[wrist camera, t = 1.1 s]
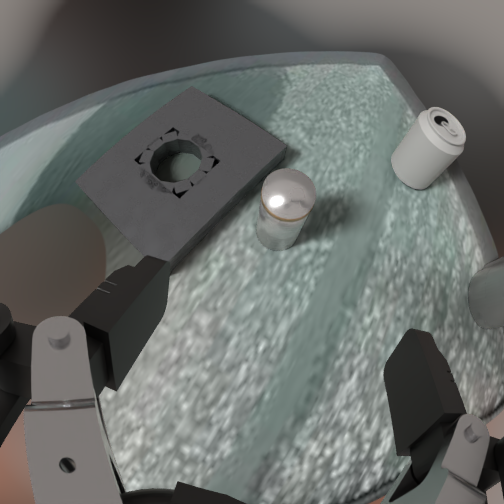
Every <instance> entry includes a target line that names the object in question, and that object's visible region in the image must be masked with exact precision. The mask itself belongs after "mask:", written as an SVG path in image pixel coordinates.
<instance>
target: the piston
mask: <svg viewBox="0 0 504 504" xmlns="http://www.w3.org/2000/svg"><path fill="white" fill-rule="evenodd" d="M315 200H316V189H315V186H314V184H313V182H312V181H311V179H310V178H309V177H308V176H307V175H305V174H304V173H302V172H300V171H298V170H295V169H290V168H284V169H279V170H276V171H274V172H272V173H271V174H269V175H268V176H267V177H266V179H265V181H264V183H263V186H262V190H261V200H260V207H259V214H258V221H257V228H256V234H257V238H258V240H259V241H260V243H261V244H262V245H263V246H264V247H266V248H267V249H270V250H273V251H283V250H286V249H288V248H289V247H291V246H292V245H293V244H294V242H295V240H296V238H297V237H298V235H299V233H300V231H301V229H302V227H303V225H304V223H305V221H306V219H307V217H308V215H309V213H310V212H311V210H312V208H313V206H314V203H315Z"/></svg>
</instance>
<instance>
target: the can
mask: <svg viewBox="0 0 504 504" xmlns="http://www.w3.org/2000/svg"><path fill="white" fill-rule="evenodd" d="M465 140H466V135H465V132H464V129H463V127H462V125H461V124H460V123H459V121H458V120H457V119H456V118H455V117H454V116H453V115H451V114H450V113H449V112H448V111H446V110H444V109H442V108H438V107H432V108H430V109H429V110H425V111H423V112H421V113H420V115H419V116H418V118H417V119H416V121H415V122H414V124H413V125H412V127H411V128H410V129H409V131H408V132H407V134H406V135H405V137H404V138H403V140H402V141H401V142H400V144H399V145H398V147H397V148H396V150H395V151H394V153H393V154H392V158H391V163H392V167H393V169H394V171H395V173H396V175H397V176H398V177H399V179H400V180H401V181H402V182H403V183H405V184H406V185H408V186H410V187H412V188H414V189H420V190H421V189H425V188H427V187H428V186H429V185H430V184H431V183H432V182H433V181H434V180H435V179H436V178H437V177H438V176H439V175H440V174H441V173H442V172H443V171H444V170H445V169H446V168H447V167H448V166H449V165H450V164H451V163H452V162H453V161H454V160H455V159H456V158H457V157H458V156H459V155H460V154H461V153H462V152H463V149H464V143H465Z"/></svg>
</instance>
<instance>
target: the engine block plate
mask: <svg viewBox="0 0 504 504" xmlns="http://www.w3.org/2000/svg"><path fill="white" fill-rule="evenodd" d="M286 148H287V145H285V144H284V143H282V142H281V141H279V140H278V139H277V138H275V137H274V136H272V135H271V134H269V133H268V132H266V131H265V130H263V129H262V128H260V127H258V126H257V125H255V124H254V123H252V122H251V121H249V120H248V119H246V118H244V117H243V116H241V115H240V114H238V113H236V112H235V111H233V110H232V109H230V108H228V107H227V106H225V105H223V104H222V103H220V102H218V101H217V100H215V99H213V98H211V97H210V96H208V95H206V94H205V93H203V92H201V91H199V90H198V89H196V88H194V87H192V86H191V87H190V88H188V89H187V90H185V91H184V92H182V93H181V94H179V95H178V96H177V97H175V98H174V99H172V100H171V101H170V102H168V103H167V104H165V105H164V106H163V107H161V108H160V109H159V110H157V111H156V112H155V113H153V114H152V115H151V116H149V117H148V118H147V119H146V120H144V121H143V122H142V123H141V124H139V125H138V126H137V127H136V128H134V129H133V130H132V131H131V132H129V133H128V134H127V135H126V136H125V137H123V138H122V139H121V140H120V141H119V142H117V143H116V144H115V145H114V146H113V147H112V148H111V149H109V150H108V151H107V152H106V153H105V154H104V155H103V156H102V157H101V158H99V159H98V160H97V161H96V162H95V163H94V164H93V165H92V166H91V167H90V168H89V169H88V170H87V171H86V172H85V173H84V174H82V175H81V176H80V177H79V178H78V179H77V180H76V181H75V182H76V183H77V184H78V185H79V187H80V188H81V189H82V190H83V191H84V192H85V194H86V195H87V196H88V197H89V198H90V199H91V200H92V201H93V203H94V204H95V205H96V206H97V207H98V208H99V209H100V210H101V211H102V212H103V214H104V215H105V216H106V217H107V218H108V219H109V220H110V221H111V222H112V223H113V224H114V225H115V226H116V228H117V229H118V230H119V231H120V232H121V233H122V234H123V235H124V236H125V237H126V238H127V239H128V240H129V241H130V242H131V243H132V244H133V245H134V246H135V247H136V248H137V249H138V250H139V251H140V252H141V253H142V254H143V255H144V256H146V255H149V256H153V257H156V258H159V259H162V260H165V261H169V262H170V272H171V271H172V270H173V269H174V268H175V267H176V266H177V265H178V264H179V263H180V262H181V261H182V260H183V259H184V258H185V256H186V255H187V254H188V253H189V252H190V251H191V250H192V249H193V248H194V247H195V246H196V245H197V244H198V243H199V242H200V241H201V240H202V239H203V238H204V237H205V236H206V235H207V234H208V233H209V232H210V231H211V230H212V229H213V228H214V227H215V226H216V225H217V224H218V223H219V222H220V221H221V220H222V219H223V218H224V217H225V216H226V215H227V214H228V213H229V212H230V211H231V210H232V209H233V208H234V207H235V206H236V205H237V204H238V203H239V202H240V201H241V200H242V199H243V198H244V197H245V196H246V195H247V194H248V193H249V192H250V191H251V190H252V189H253V188H254V187H255V186H256V185H257V184H258V183H259V182H260V181H261V180H262V179H263V178H264V177H265V176H266V175H267V174H269V173H270V172H271V171H272V170H273V169H274V168H275V167H276V166H277V165H278V164H279V163H280V162H281V161H282V160H283V159H284V157H285V152H286ZM179 152H183V153H191V154H194V155H195V156H196V157H198V158H199V159H200V160H202V161H201V164H200V167H199V169H198V170H197V171H196V172H195V173H194V174H193V175H192V176H191V177H189V178H188V179H185V180H182V181H179V182H175V183H172V182H165V181H160V180H159V179H158V178H157V177H156V176H155V173H156V171H157V168H158V165H159V164H160V163H161V162H162V161H163V160H164V159H165V158H167V157H168V156H170V155H173V154H176V153H179Z"/></svg>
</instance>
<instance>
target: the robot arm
mask: <svg viewBox="0 0 504 504" xmlns="http://www.w3.org/2000/svg"><path fill="white" fill-rule="evenodd" d="M169 277H170V262H169V261H165V260H162V259H159V258H156V257H153V256H149V255H146V256H145V257H144V258H143V259H142V260H141V261H140V262H139V263H138V264H137V265H136V266H135V267H132V266H129V265H127V266H125V267H123V268H120V269H118V270H116V271H114V272H113V273H112V274H111V275H110V276H109V277H108V278H107V279H106V280H105V282H102V283H101V284H100V285H99V286H98V288H97V290H96V289H95V291H93V292H92V293H91V294H90V296H88V297H87V298H86V299H85V300H84V301H83V302H82V303H81V304H80V305H79V306H78V307H77V308H76V309H75V310H74V312H72V313H71V315H70V316H69V317H65V316H56V317H52V318H48V319H46V320H44V321H43V322H41V323H40V324H39V325H38V326H32V325H28V324H23V323H19V322H14V321H13V319H12V316H11V313H10V310H9V308H8V307H7V306H6V305H4V304H2V303H0V447H1V445H2V443H3V442H4V440H5V438H6V437H7V435H8V433H9V432H10V430H11V428H12V426H13V425H14V423H15V422H16V420H17V419H18V417H19V415H20V414H21V412H22V411H23V409H24V408H25V409H24V430H25V441H26V451H27V458H28V465H29V472H30V478H31V484H32V489H33V494H34V499H35V503H36V504H246V503H244V502H241V501H239V500H237V499H235V498H232V497H230V496H228V495H225V494H221V493H217V492H213V491H209V490H206V489H202V488H198V487H195V486H191V485H188V484H185V483H182V482H179V481H178V482H177V484H176V487H175V490H173V489H154V488H152V489H140V490H135V491H129V492H126V489H125V486H124V484H123V481H122V478H121V475H120V472H119V469H118V466H117V463H116V460H115V457H114V454H113V451H112V448H111V444H110V440H109V437H108V433H107V429H106V425H105V421H104V416H103V412H102V408H101V403H100V398H99V395H100V393H101V392H102V390H103V389H104V387H105V386H106V387H108V388H110V389H112V390H115V391H117V390H118V388H119V387H120V385H121V383H122V382H123V380H124V378H125V377H126V375H127V374H128V372H129V370H130V369H131V367H132V365H133V364H134V362H135V360H136V359H137V357H138V356H139V354H140V352H141V351H142V349H143V348H144V346H145V344H146V343H147V341H148V340H149V338H150V336H151V335H152V333H153V332H154V330H155V329H156V327H157V325H158V324H159V322H160V321H161V319H162V317H163V315H164V312H165V309H166V305H167V298H168V287H169ZM468 298H469V306H470V310H471V314H472V316H473V318H474V320H475V321H476V323H477V324H478V325H479V326H481V327H482V328H484V329H492V328H498V327H503V326H504V256H503V257H501V258H499V259H497V260H495V261H493V262H491V263H488V264H486V265H485V266H484V269H483V270H480V271H478V272H477V273H476V274H475V275H474V276H473V278H472V280H471V282H470V286H469V293H468ZM450 372H451V370H450V368H449V365H448V363H447V361H446V359H445V358H444V356H443V355H442V354H441V353H440V351H439V350H438V348H437V346H436V344H435V341H434V339H433V337H432V335H431V334H430V333H429V332H425V331H421V330H416V329H409V330H408V331H407V332H406V333H405V334H404V336H403V337H402V339H401V341H400V342H399V344H398V345H397V347H396V348H395V350H394V351H393V353H392V354H391V356H390V357H389V359H388V360H387V362H386V365H385V368H384V382H385V387H386V392H387V397H388V402H389V408H390V413H391V419H392V425H393V432H394V438H395V445H396V452H397V456H411V461H410V462H408V463H407V464H406V465H405V467H404V468H403V470H402V472H401V473H400V475H399V477H398V478H397V480H396V481H395V483H394V484H393V486H392V487H391V489H390V490H389V492H388V493H387V495H386V496H385V498H384V499H383V501H382V502H381V503H380V504H488V503H487V496H486V491H487V490H488V489H490V488H491V487H493V486H494V485H496V484H497V483H499V482H500V481H501V486H502V492H503V498H504V437H503V438H502V439H497V438H494V437H491V436H489V432H488V429H487V427H486V425H485V424H484V423H483V421H482V420H481V419H479V418H478V417H477V416H475V415H472V414H467V413H466V410H465V407H464V404H463V401H462V398H461V396H460V393H459V390H458V388H457V385H456V383H454V381H455V380H454V378H453V375H452V373H450ZM30 399H32V402H31V405H26V404H27V403H28V401H29V400H30Z"/></svg>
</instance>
